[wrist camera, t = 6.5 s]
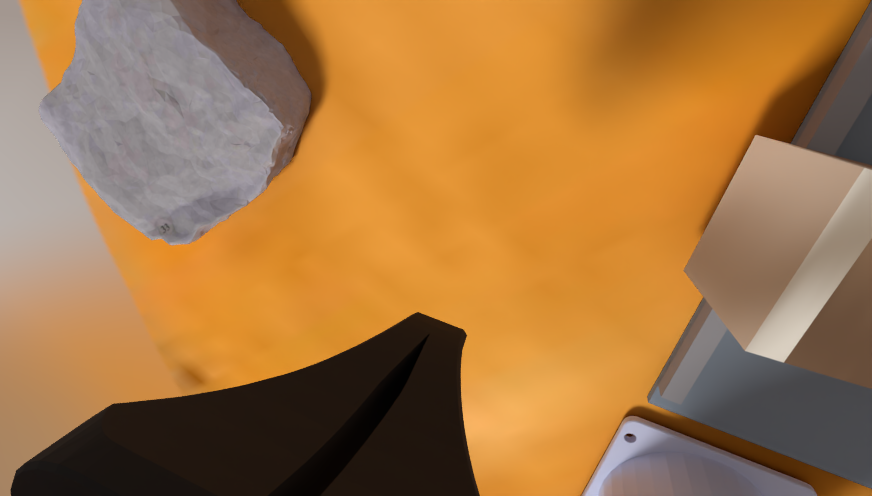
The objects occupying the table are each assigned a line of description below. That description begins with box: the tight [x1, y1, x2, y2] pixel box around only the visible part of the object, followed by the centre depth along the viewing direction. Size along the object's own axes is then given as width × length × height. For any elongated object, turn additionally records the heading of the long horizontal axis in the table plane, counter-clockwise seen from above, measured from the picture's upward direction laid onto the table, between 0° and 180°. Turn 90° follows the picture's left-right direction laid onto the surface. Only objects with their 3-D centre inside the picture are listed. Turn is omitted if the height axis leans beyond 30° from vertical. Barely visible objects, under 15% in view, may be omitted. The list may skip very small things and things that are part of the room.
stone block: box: [39, 0, 311, 245], centre depth 21 cm, size 12×5×10 cm
